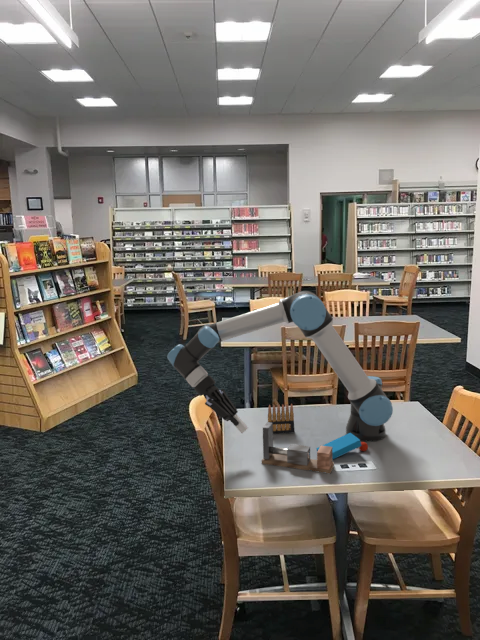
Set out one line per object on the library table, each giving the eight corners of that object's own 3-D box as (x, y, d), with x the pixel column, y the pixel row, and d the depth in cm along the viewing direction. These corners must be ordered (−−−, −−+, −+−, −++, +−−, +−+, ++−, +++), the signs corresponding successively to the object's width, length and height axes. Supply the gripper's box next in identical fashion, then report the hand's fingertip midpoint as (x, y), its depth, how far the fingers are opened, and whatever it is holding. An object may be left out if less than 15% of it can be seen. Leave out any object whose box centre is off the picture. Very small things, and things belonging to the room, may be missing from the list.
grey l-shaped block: (263, 458, 171) (262, 427, 169) (267, 452, 175) (267, 422, 173) (307, 465, 165) (306, 432, 163) (310, 458, 169) (310, 427, 167)
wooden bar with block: (261, 463, 171) (261, 445, 169) (267, 456, 176) (266, 438, 175) (330, 473, 162) (330, 454, 161) (333, 465, 167) (333, 446, 166)
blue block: (329, 473, 172) (373, 452, 176) (324, 456, 170) (368, 435, 174) (321, 464, 178) (363, 444, 182) (316, 448, 177) (358, 428, 181)
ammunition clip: (293, 430, 198) (293, 402, 196) (294, 432, 196) (294, 404, 194) (267, 432, 197) (266, 403, 195) (268, 434, 195) (267, 405, 193)
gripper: (202, 382, 184) (244, 430, 181) (186, 393, 173) (231, 444, 169) (215, 370, 182) (258, 418, 178) (199, 380, 170) (245, 431, 166)
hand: (245, 430), depth 174 cm, fingers closed
